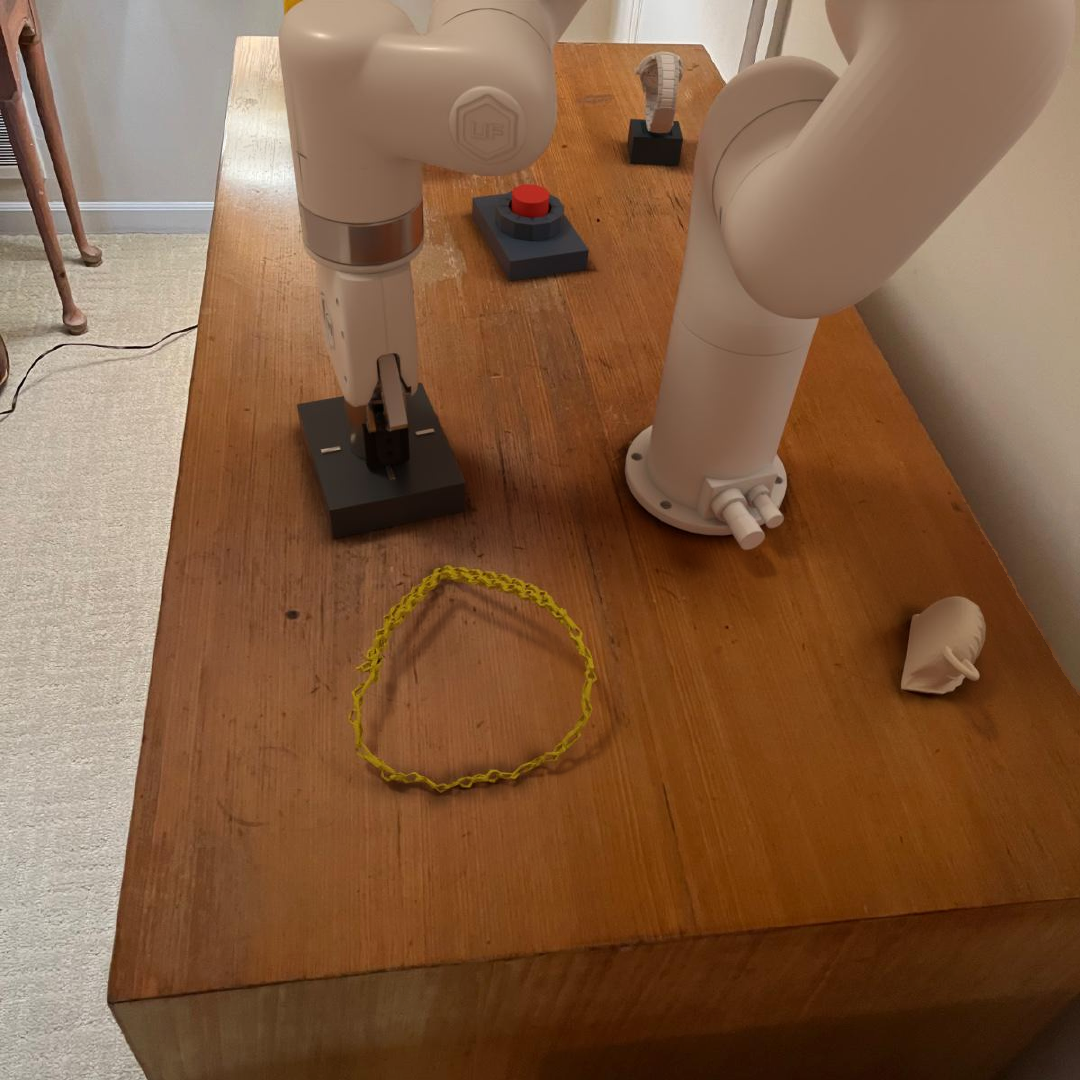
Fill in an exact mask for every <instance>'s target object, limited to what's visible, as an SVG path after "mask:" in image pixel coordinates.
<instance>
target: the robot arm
mask: <svg viewBox="0 0 1080 1080" xmlns="http://www.w3.org/2000/svg"><path fill="white" fill-rule="evenodd" d="M586 2H587V0H435V2H434V3H433V6H432V9H431V12H430V15H429V18H428V22H427V23H428V24H427V27H426V32H425V34H422V33H420V32H419V31H418V30H417V29H416V28H415V25H414V23H413V21H412V19H411V18H410V17H409V15H408V14H407V13H406V12H405V11H404V10H403V9H402V8H400V7H399V6H398V5H397V4H395V3H393V2H391V1H389V0H304V1H302V2H299V3H298V4H296V5H295V6H294V7H292V8H291V9H290V10H289V11H288V12H287V13H286V15H285V16H284V15H283V18H282V20H281V22H280V25H279V29H278V53H279V54H278V55H279V62H280V70H281V77H282V85H283V92H284V101H285V109H286V118H287V124H288V132H289V141H290V148H291V157H292V165H293V173H294V182H295V188H296V196H297V204H298V212H299V221H300V228H301V236H302V237H301V238H302V245H303V248H304V251H305V252H306V254H307V255H308V257H310V259H312V260H314V262H315V269H316V282H317V283H316V284H317V294H318V308H319V310H318V312H319V323H320V330H321V334H322V339H323V342H324V345H325V349H326V351H327V354H328V358H329V360H330V364H331V366H332V369H333V371H334V374H335V377H336V380H337V382H338V384H339V388H340V391H341V393H342V396H344V398H345V400H346V401H347V402H348V403H349V404H350V405H352V406H354V407H358V406H362V405H364V410H365V418H366V423H365V424H362V431H363V442H364V453H365V462H366V465H367V467H368V468H369V469H375V468H380V467H385V466H390V465H395V464H400V463H405V462H407V461H409V459H410V451H409V430H408V419H407V409H406V400H405V393H406V395H407V394H408V395H409V396H410V397H412V396H413V395H414V394H415V392H416V391H417V388H418V383H419V353H418V337H417V336H418V334H417V320H416V308H415V307H416V306H415V297H414V296H415V290H414V286H413V285H414V284H413V275H412V266H411V261H413V260H415V259H416V257H418V256H419V255H420V253H421V251H422V250H423V248H424V245H425V229H424V227H425V225H424V224H425V223H424V194H423V192H424V190H423V188H424V187H423V186H424V185H423V164H427V165H431V166H434V167H438V168H443V169H447V170H450V171H454V172H458V173H463V174H468V175H473V176H481V177H502V176H503V177H504V176H507V175H509V176H510V175H512V174H516V173H519V172H521V171H524V170H525V169H528V168H529V167H530V166H532V165H533V164H534V163H535V162H537V161H538V160H539V159H540V158H541V156H543V155H544V153H545V152H546V150H547V149H548V147H549V146H550V143H551V141H552V139H553V136H554V134H555V131H556V127H557V119H558V93H557V82H556V81H557V80H556V70H555V56H554V49H555V47H556V46H557V44H558V42H559V41H560V39H561V38H562V36H563V34H565V32H566V31H567V29H568V28H569V26H570V25H571V24H572V22H573V20H574V19H575V18H576V16H577V15H578V13H579V11H580V10H581V9H582V8H583V7H584V5H585V4H586ZM824 7H825V13H826V17H827V21H828V23H829V26H830V28H831V32H832V34H833V37H834V39H835V42H836V44H837V46H838V48H839V50H840V52H841V54H842V56H843V58H844V59H845V61H846V63H847V65H848V66H847V68H846V69H845V70H844V71H843V73H842V74H841V76H838V74H837V73H835V72H834V71H833V70H831V68H829V67H827V66H825V65H824V64H822V63H820V62H818V61H816V60H814V59H810V58H807V57H803V56H798V55H778V56H772V57H768V58H764V59H761V60H759V61H757V62H755V63H753V64H751V65H749V66H747V67H745V68H744V69H742V70H740V71H739V72H738V73H737V74H736V75H734V76H733V77H732V78H730V80H729V81H728V82H727V83H726V84H725V85H724V86H723V87H722V88H721V90H720V91H719V92H718V94H717V95H716V96H715V98H714V100H713V102H712V103H711V104H710V107H709V108H708V111H707V113H706V115H705V117H704V120H703V122H702V126H701V128H700V133H699V136H698V140H697V145H696V150H695V158H694V163H693V174H692V186H691V195H690V207H689V218H688V219H689V220H688V227H687V234H686V235H687V236H686V244H685V250H684V255H683V263H682V268H681V274H680V279H679V286H678V290H677V295H676V296H677V297H676V301H675V306H674V310H673V315H672V320H671V326H670V331H669V335H668V342H667V347H666V352H665V357H664V364H663V368H662V373H661V379H660V384H659V388H658V389H659V390H658V393H657V394H658V395H657V400H656V406H655V409H654V410H655V411H654V416H653V421H652V424H651V425H650V426H648V427H647V428H645V429H643V430H642V431H641V432H640V433H639V434H638V435H637V436H636V437H635V438H634V439H633V441H632V442H631V444H630V445H629V447H628V449H627V453H626V458H625V465H624V475H625V481H626V484H627V486H628V488H629V491H630V493H631V494H632V495H633V497H634V498H635V500H636V501H637V503H638V504H639V505H640V506H642V507H643V508H644V509H645V510H646V511H647V512H648V513H649V514H650V515H652V516H654V517H655V518H657V520H660V521H661V522H663V523H665V524H667V525H670V526H671V527H674V528H677V529H679V530H683V531H686V532H689V533H693V534H699V535H705V536H728V535H729V536H730V535H732V536H733V537H734V539H735V541H736V542H737V543H738V545H739V547H740V548H741V550H744V551H748V550H753V549H754V548H758V547H759V546H760V545H761V544H762V543H763V541H764V540H765V538H766V537H765V532H764V531H763V529H762V528H761V526H762V525H764V524H765V526H766V528H768V529H775V528H777V527H779V526H780V525H781V524H783V522H784V520H785V517H784V515H783V513H782V512H781V511H780V508H781V505H782V503H783V500H784V497H785V495H786V491H787V486H788V481H787V479H788V478H787V472H786V469H785V466H784V463H783V462H782V460H781V458H780V456H779V455H778V449H779V447H780V443H781V440H782V437H783V434H784V430H785V427H786V423H787V420H788V417H789V414H790V411H791V408H792V405H793V402H794V399H795V395H796V391H797V389H798V387H799V382H800V380H801V375H802V373H803V369H804V367H805V364H806V361H807V357H808V353H809V351H810V347H811V344H812V341H813V338H814V335H815V333H816V330H817V327H818V324H819V321H820V318H824V317H827V316H831V315H834V314H837V313H839V312H842V311H844V310H847V309H848V308H851V307H853V306H854V305H856V304H858V303H859V302H861V301H862V300H864V299H866V298H867V297H868V296H870V295H871V294H873V293H874V292H875V291H876V290H878V289H879V288H880V287H882V286H883V285H884V284H885V283H886V282H887V281H888V280H890V278H892V277H893V276H894V275H895V274H896V273H897V272H898V271H899V270H900V269H901V268H902V267H903V266H904V265H905V264H906V262H908V261H909V260H910V258H912V256H913V255H914V254H915V253H916V252H917V251H918V250H919V249H920V248H921V247H922V246H923V245H924V244H925V242H927V240H928V239H929V238H930V237H931V236H932V235H933V234H934V233H935V232H936V231H937V230H938V229H939V228H940V226H942V224H943V223H944V222H945V221H946V220H947V219H948V218H949V217H950V216H951V214H952V213H954V211H955V210H956V209H957V208H958V207H959V206H960V205H961V204H962V203H963V202H964V200H965V199H966V198H967V197H968V196H969V195H970V194H971V193H972V192H973V191H974V190H975V188H977V187H978V186H979V184H980V183H981V182H982V181H983V180H984V179H985V178H986V177H987V176H988V175H989V174H990V173H991V171H992V170H993V169H994V168H995V167H996V166H997V165H998V164H999V162H1000V161H1001V160H1002V159H1003V158H1004V157H1005V156H1006V155H1007V154H1008V153H1009V152H1010V150H1011V149H1012V148H1013V147H1014V146H1015V145H1016V144H1017V143H1018V141H1020V139H1021V138H1022V137H1023V136H1024V135H1025V133H1027V131H1028V130H1029V129H1030V128H1031V126H1032V125H1033V124H1034V123H1035V121H1036V120H1037V118H1038V117H1039V116H1040V114H1041V113H1042V111H1043V110H1044V108H1045V107H1046V105H1047V104H1048V102H1049V100H1050V99H1051V97H1052V95H1053V94H1054V92H1055V90H1056V88H1057V86H1058V84H1059V82H1060V80H1061V79H1062V76H1063V74H1064V71H1065V69H1066V66H1067V62H1068V60H1069V58H1070V55H1071V51H1072V48H1073V44H1074V38H1075V31H1076V21H1077V19H1076V18H1077V17H1076V14H1077V13H1076V1H1075V0H824ZM377 382H379V385H377ZM376 400H382V401H383V406H384V411H381V412H377V413H376V414H375V409H374V402H373V401H376Z"/></svg>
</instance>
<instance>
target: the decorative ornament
mask: <svg viewBox="0 0 1080 1080" xmlns="http://www.w3.org/2000/svg"><path fill="white" fill-rule="evenodd" d="M984 619H985V617H984V614H983V613H982V611H981V608H980V605H978V604H976V603H975V602H974V601H971V600H970V599H969V598H967V597H964V596H958V595H955V596H948V597H944V598H942V599H939V600H937V601H936V602H935V601H934V602H933V603H932V604H930V605H929V606H928V607H927V608H925V609H924V610H923V611H922V612H920V613H916V614H913V615H912V617H911V620H910V621H911V622H910V627H909V636H908V644H907V651H906V657H905V660H904V666H903V672H902V676H901V682H900V688H901V690H905V691H910V692H911V691H912V692H918V693H924V694H925V693H926V694H934V695H935V694H936V695H944V694H946V693H951V692H954V691H955V689H957V688H956V687H959V686H961V685H962V683H963V680H964V679H965V678H966V679H968V680H970V681H972V682H973V681H974V682H975V681H978V680H979V679H980V672H979V670H977V668H976V667H975V663H976V661H977V659H978V658H979V656H980V654H981V651H982V648H983V646H984V644H985V641H986V631H987V626H986V623H985V620H984Z"/></svg>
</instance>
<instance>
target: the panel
mask: <svg viewBox="0 0 1080 1080" xmlns="http://www.w3.org/2000/svg"><path fill="white" fill-rule="evenodd" d="M406 407H407V419H408V430H409V451H410V459H409V461H407V462H405V463H400V464H395V465H390V466H385V467H380V468H375V469H369V468H368V467H367V465H366V462H365V459H363V458H361V457H359V456H357V455H356V454H355V453H354V452H353V451H352V450H351V448H350V446H349V440H348V430H347V420H346V411H345V401H344V396H343V395H342V396H337V397H331V398H330V397H329V398H324V399H319V400H313V401H307V402H301V403H297V404H296V410H297V415H298V422H299V423H298V424H299V429H300V430H299V431H300V434H301V438H302V441H303V444H304V447H305V451H306V454H307V457H308V461H309V464H310V467H311V471H312V475H313V477H314V481H315V483H316V487H317V491H318V494H319V497H320V501H321V504H322V507H323V510H324V513H325V517H326V520H327V522H328V523H327V524H328V527H329V530H330V533H331V536H332V539H339V538H344V537H348V536H355V535H358V534H363V533H368V532H372V531H378V530H382V529H387V528H390V527H396V526H401V525H405V524H410V523H414V522H419V521H424V520H427V519H428V520H429V519H433V518H438V517H443V516H448V515H452V514H457V513H461V512H465V511H466V487H467V486H466V484H467V483H466V480H465V478H464V475H463V473H462V471H461V469H460V466H459V465H458V462H457V460H456V458H455V455H454V453H453V450H452V448H451V446H450V444H449V442H448V439H447V436H446V435H445V432H444V429H443V428H442V425H441V423H440V421H439V419H438V417H437V414H436V411H435V410H434V407H433V405H432V403H431V400H430V398H429V395H428V393H427V392H426V389H425V387H424V385H423V383H422V382H418V388H417V391H416V392H415V394H414V395H413V396H412V397H410V396H409V395H408V394H407V395H406Z"/></svg>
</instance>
